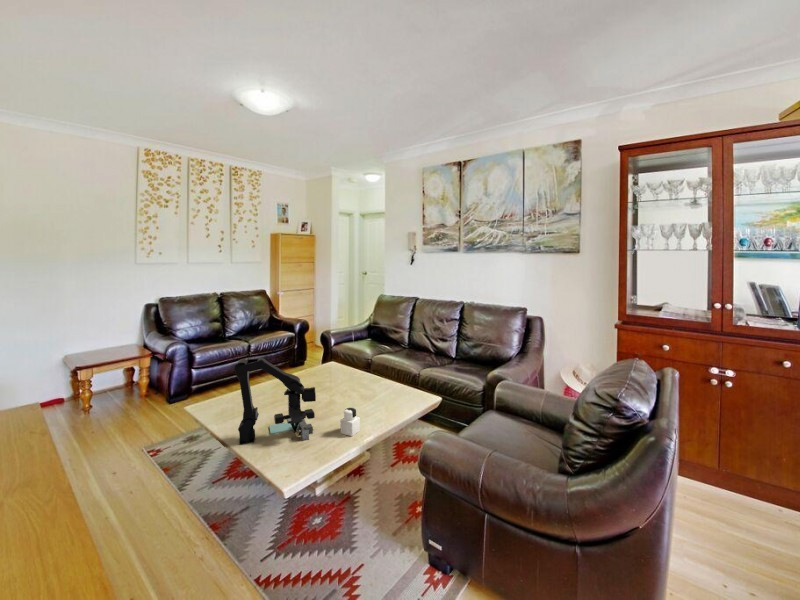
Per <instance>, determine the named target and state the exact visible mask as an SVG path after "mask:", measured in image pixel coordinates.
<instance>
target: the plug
mask: <svg viewBox="0 0 800 600" xmlns="http://www.w3.org/2000/svg"><path fill="white" fill-rule="evenodd" d="M306 424H307V427H308V429H309V435H312V434H314V432H313V431H315V428H314V425H312V423H306ZM294 434H295V437H298V436H299V435H301V431H299V429H298V430H296V433H294Z"/></svg>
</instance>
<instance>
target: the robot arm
mask: <svg viewBox="0 0 800 600" xmlns="http://www.w3.org/2000/svg"><path fill="white" fill-rule="evenodd" d="M258 369H261V370H263V371H264V372H266V373H268V374H269V375H270V376H271V377H274V378H275V379H277V380H279V381H280V382H281V383H282V384H283V385H284V387H286V388H287V389H286V390H285V391H284V392H283V393H284V394H283V396H287V400H288V401H287V405H288V407H287V409H288V411H287V412H288V414H286V415H285V414H283V413H275V414H274V416H273V421H274V425H276V424H282V423H285V420H286V423H287V422H288V424H289V423H290V424H291V426H292V428H293V430H292V432H293V433H294V434H295V433H296V430H297V427H298V425H299V423H300V422H302V421H303V420H302V419H306V418H307V419H308V420H311V419H315V416H316V415H315V411H314V409H312V408H308V409H305V410H302V409H301V401H303V402H304V403H311V402H316V401H317V400H316V398H317V397H316V387H315V386H312V387H305V386H304V385H303V383H302V382H301V378H300V377H299V376H297V375H295V374H293V373H288V372H285V371H284V370H282V369H280V368H279V367H277V366H276V365H274V364H272V363H271V362H270V361H268V360H266V359H265V358H263V357H260V358H249V359H246V358H241V359H238V361H237V362H236V364H235V365H234V374H235V375H236V376H235V377H236V378H237V379H238V382H239V386H240V394H241V399H242V406H243V407H242V408H243V413H242V419H241V420H240V423H239V426H238V428H237V431H238V434H239V436H238V437H239V439H238V440H239V445H245V444H251V443H255V439H256V429H255V428H254V427H255V425H256V423H257V421H258V418H259V416H260V415H259V412H258V408H259V407H255V406H254V404H253V399H252V397H253V396H252V391H251V383H250V372H252V371H255V370H258ZM294 423H295V425H294Z"/></svg>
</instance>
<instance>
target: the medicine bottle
mask: <svg viewBox="0 0 800 600" xmlns="http://www.w3.org/2000/svg"><path fill="white" fill-rule="evenodd" d="M360 430H361V417H359V416H357V410H356V408H354V407H347V408H345V409H344V411H343V418H340V434H342V435H346V436H349V437H353V436H355V435H356V434H357V433H359V432H360Z"/></svg>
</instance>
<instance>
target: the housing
mask: <svg viewBox="0 0 800 600" xmlns="http://www.w3.org/2000/svg"><path fill="white" fill-rule="evenodd" d="M305 419H306V418H304V419H302V420H303V421H302V422H300V423H299V425H298V428H299V429H298V432H301V434H300V435H301V440H302V441H308V440H310V434H309V429H308V427H307V424H308V423H307V422H306V420H305Z"/></svg>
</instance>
